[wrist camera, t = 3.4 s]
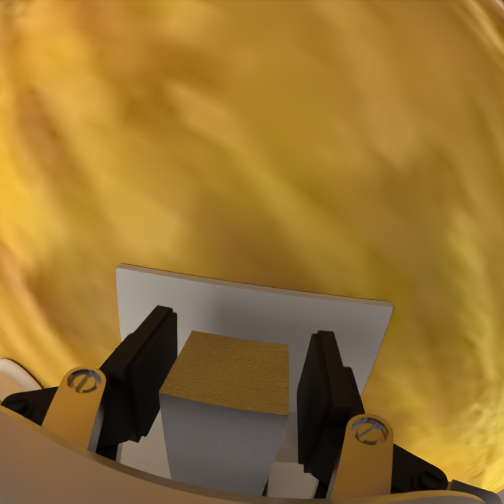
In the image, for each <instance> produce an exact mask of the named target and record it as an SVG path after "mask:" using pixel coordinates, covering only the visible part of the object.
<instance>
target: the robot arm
mask: <svg viewBox="0 0 504 504" xmlns="http://www.w3.org/2000/svg"><path fill="white" fill-rule="evenodd" d="M177 357H178V342H177V313H176V312H173V309H172V308H170V307H165V306H160V305H157V306H156V307H155V308H154V309H153V311H152V312H151V313H150V314H149V315H148V316H147V317H146V319H145V320H144V321H143V322H142V323H141V324H140V326H139V327H138V328H137V329H136V330H135V331H134V332H133V333H130V334H129V335H128V336H127V337H126V338H125V339H124V340H123V341H122V343H121V344H120V345H119V346H118V347H117V348H116V349H115V351H114V352H113V353H112V354H111V355H110V356H109V358H108V359H107V360H106V361H105V362H104V363H103V365H102V366H101V367H100V368H99V369H97V368H94V367H90V366H81V367H76V368H74V369H71V370H70V371H68V372H67V373H66V374H65V376H64V377H63V379H62V381H61V383H60V385H59V386H58V387H52V388H46V389H40V390H33V391H26V392H19V393H14V394H11V395H9V396H7V397H6V398H5V399H4V400H3V401H2V402H1V400H0V504H502V502H501V499H500V498H499V496H498V495H497V494H496V493H494V492H491V491H488V490H484V489H481V488H478V487H474V486H471V485H468V484H465V483H462V482H459V481H457V480H454V479H453V480H452V481H451V482H448V480H447V477H446V475H445V474H444V472H443V471H442V470H440V469H439V468H437V467H436V466H434V465H432V464H430V463H428V462H426V461H424V460H422V459H421V458H419V457H417V456H415V455H413V454H411V453H410V452H408V451H406V450H404V449H403V448H401V447H399V446H397V445H396V444H394V443H393V431H392V428H391V426H390V424H389V423H388V422H387V421H385V420H384V419H382V418H381V417H379V416H376V415H372V414H365V411H364V408H363V404H362V401H361V397H360V394H359V390H358V387H357V383H356V380H355V377H354V373H353V370H352V368H351V367H345V366H343V362H342V359H341V355H340V352H339V348H338V345H337V341H336V338H335V334H334V332H333V331H324V330H318V332H317V334H316V333H312V335H311V339H310V343H309V347H308V351H307V355H306V359H305V362H304V366H303V370H302V374H301V377H300V381H299V384H298V388H297V429H298V464H303V467H304V473H311V475H312V476H313V477H315V478H316V479H317V481H316V484H315V487H314V490H313V494H312V497H311V499H298V498H278V497H266V496H256V495H248V494H240V493H233V492H227V491H221V490H215V489H210V488H205V487H200V486H195V485H191V484H187V483H183V482H179V481H175V480H171V479H167V478H164V477H160V476H157V475H154V474H150V473H147V472H144V471H141V470H138V469H135V468H132V467H129V466H127V465H124V464H121V463H120V461H121V454H122V447H123V442H127V441H128V440H130V441H133V442H136V443H139V441H140V439H141V437H142V436H144V437H146V436H147V435H148V433H149V431H150V429H151V427H152V425H153V423H154V421H155V419H156V417H157V415H158V413H159V411H160V401H159V391H160V389H161V387H162V385H163V383H164V381H165V379H166V378H167V376H168V374H169V372H170V370H171V368H172V366H173V365H174V363H175V361H176V359H177Z"/></svg>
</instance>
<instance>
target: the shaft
mask: <svg viewBox="0 0 504 504" xmlns="http://www.w3.org/2000/svg"><path fill="white" fill-rule="evenodd" d="M159 401H160V409H161V418H162V425H163V433H164V439H165V446H166V452H167V458H168V464H169V470H170V475H171V480H175V481H179V482H183V483H187V484H191V485H195V486H200V487H205V488H210V489H215V490H221V491H227V492H233V493H240V494H248V495H256V496H261V495H262V493H263V490H264V488H265V485H266V482H267V479H268V477H269V474H270V471H271V468H272V466H273V463H274V460H275V457H276V454H277V451H278V448H279V445H280V442H281V439H282V436H283V433H284V430H285V426H286V423H287V420H288V417H289V357H288V345H283V344H275V343H267V342H260V341H253V340H246V339H240V338H233V337H227V336H221V335H215V334H210V333H204V332H199V331H194V330H192V331H191V333H190V335H189V337H188V339H187V341H186V342H185V344H184V346H183V348H182V350H181V352H180V353H179V355H178V357H177V359H176V361H175V363H174V365H173V366H172V368H171V370H170V372H169V374H168V376H167V378H166V379H165V381H164V383H163V385H162V387H161V389H160V391H159Z"/></svg>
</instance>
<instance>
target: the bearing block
mask: <svg viewBox="0 0 504 504" xmlns="http://www.w3.org/2000/svg"><path fill="white" fill-rule="evenodd" d="M116 284H117V299H118V312H119V323H120V332H121V341H123V340H124V339H125V338H126V337H127V336H128V335H129V334H130V333H133V332H134V331H135V330H136V329H137V328H138V327H139V326H140V324H141V323H142V322H143V321H144V320H145V319H146V317H147V316H148V315H149V314H150V313H151V312H152V311H153V309H154V308H155V307H156V306H157V305H160V306H165V307H170V308H172V309H173V312H176V313H177V342H178V355H179V353H180V352H181V350H182V348H183V346H184V344H185V342H186V341H187V339H188V337H189V335H190V333H191V331H192V330H194V331H199V332H204V333H210V334H215V335H221V336H227V337H233V338H240V339H246V340H253V341H260V342H267V343H275V344H283V345H288V357H289V417H288V420H287V423H286V426H285V430H284V433H283V436H282V439H281V442H280V445H279V448H278V451H277V454H276V457H275V460H274V463H273V466H272V468H271V471H270V474H269V477H268V479H267V482H266V485H265V488H264V490H263V493H262V495H261V496H266V497H278V498H298V499H311V497H312V494H313V490H314V487H315V484H316V481H317V479H316V478H315V477H313V476H312V475H311V473H304V467H303V464H298V429H297V388H298V384H299V381H300V377H301V374H302V370H303V366H304V362H305V359H306V355H307V351H308V347H309V343H310V339H311V335H312V333H316V334H317V332H318V330H324V331H333V332H334V334H335V338H336V341H337V345H338V348H339V352H340V355H341V359H342V362H343V366H345V367H351V368H352V370H353V373H354V377H355V380H356V383H357V387H358V390H359V394H360V396H361V394H362V391H363V389H364V387H365V384H366V382H367V380H368V377H369V375H370V372H371V370H372V367H373V365H374V362H375V360H376V357H377V354H378V352H379V349H380V346H381V344H382V341H383V338H384V335H385V332H386V329H387V326H388V323H389V320H390V317H391V314H392V311H393V308H394V307H393V306H392V304H391V303H390V302H388V301H378V300H369V299H360V298H351V297H343V296H334V295H326V294H318V293H310V292H302V291H294V290H287V289H280V288H272V287H265V286H258V285H251V284H244V283H237V282H231V281H224V280H217V279H211V278H204V277H198V276H192V275H186V274H180V273H174V272H168V271H162V270H156V269H150V268H144V267H139V266H133V265H127V264H120V265H119V266H117V267H116ZM120 463H121V464H124V465H127V466H129V467H132V468H135V469H138V470H141V471H144V472H147V473H150V474H154V475H157V476H160V477H164V478H167V479H171V475H170V470H169V464H168V458H167V452H166V446H165V439H164V433H163V425H162V418H161V409H160V411H159V413H158V415H157V417H156V419H155V421H154V423H153V425H152V427H151V429H150V431H149V433H148V435H147V436H146V437H144V436H142V437H141V439H140V441H139V443H136V442H133V441H130V440H128V441H127V442H123V447H122V454H121V461H120Z"/></svg>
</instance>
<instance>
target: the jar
mask: <svg viewBox="0 0 504 504" xmlns="http://www.w3.org/2000/svg"><path fill="white" fill-rule="evenodd" d="M40 389H42V388H41V387H40V385H39V384H38V383H37V382H36V381H35V380H34V379H33V378H32V377H31V376H30V375H29V374H28V373H27V372H26V371H25V370H24V369H23V368H21V367H20V366H19V365H18V364H16V363H14V362H13V361H11V360H8V359H1V360H0V400H1V402H2V401H3V400H4V399H5V398H6V397H7V396H9V395H11V394H14V393H19V392H26V391H33V390H40Z"/></svg>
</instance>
